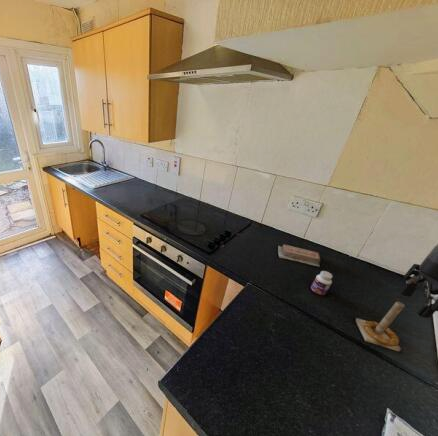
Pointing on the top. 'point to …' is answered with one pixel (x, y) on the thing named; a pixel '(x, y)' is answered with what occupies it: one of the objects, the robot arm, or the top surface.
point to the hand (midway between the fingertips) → (412, 304)
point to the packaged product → (299, 255)
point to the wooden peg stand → (382, 326)
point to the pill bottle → (322, 283)
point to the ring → (393, 336)
